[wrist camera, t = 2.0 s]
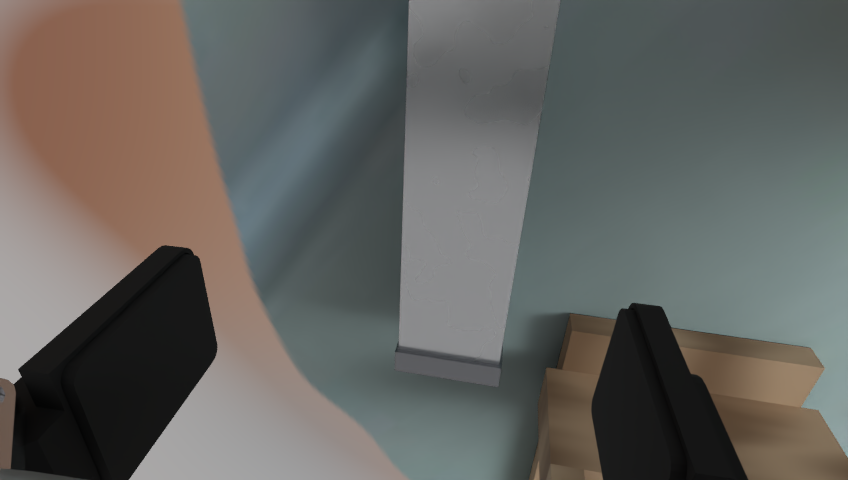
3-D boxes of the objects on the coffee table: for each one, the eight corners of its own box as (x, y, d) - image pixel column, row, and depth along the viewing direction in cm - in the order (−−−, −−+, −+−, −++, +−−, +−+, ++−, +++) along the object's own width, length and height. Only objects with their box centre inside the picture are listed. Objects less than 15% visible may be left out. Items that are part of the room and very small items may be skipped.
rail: (569, -88, 16) (581, -95, 12) (502, 320, 24) (498, 387, 20) (432, -94, 16) (406, -103, 13) (413, 307, 24) (394, 370, 21)
